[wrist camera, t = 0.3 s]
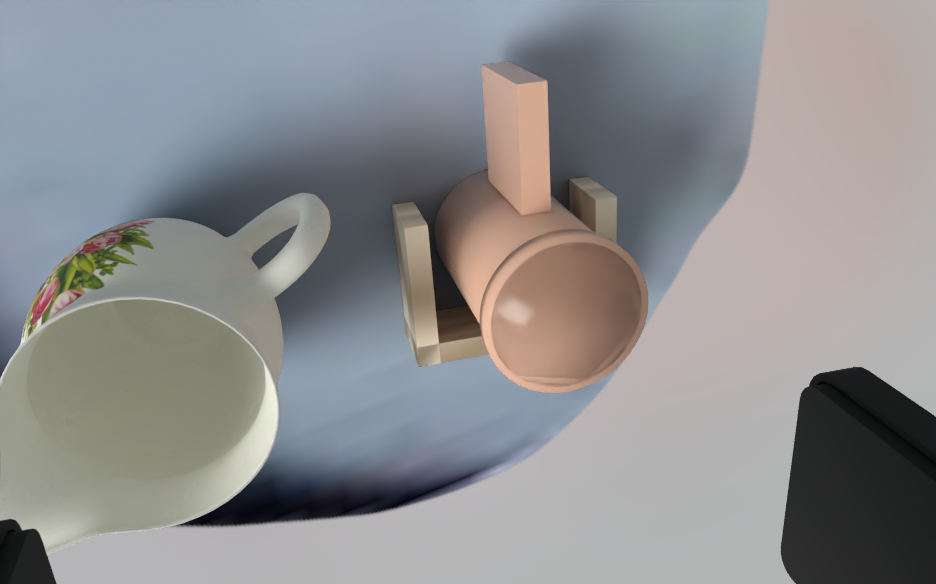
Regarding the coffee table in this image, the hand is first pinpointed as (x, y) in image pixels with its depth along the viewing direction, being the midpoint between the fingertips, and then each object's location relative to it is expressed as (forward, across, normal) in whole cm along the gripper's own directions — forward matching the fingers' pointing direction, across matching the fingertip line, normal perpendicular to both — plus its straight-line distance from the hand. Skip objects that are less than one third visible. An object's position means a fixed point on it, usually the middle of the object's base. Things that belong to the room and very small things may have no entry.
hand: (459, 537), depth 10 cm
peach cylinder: (+35, -10, +6) cm, 37 cm away
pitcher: (+35, +7, +9) cm, 37 cm away
